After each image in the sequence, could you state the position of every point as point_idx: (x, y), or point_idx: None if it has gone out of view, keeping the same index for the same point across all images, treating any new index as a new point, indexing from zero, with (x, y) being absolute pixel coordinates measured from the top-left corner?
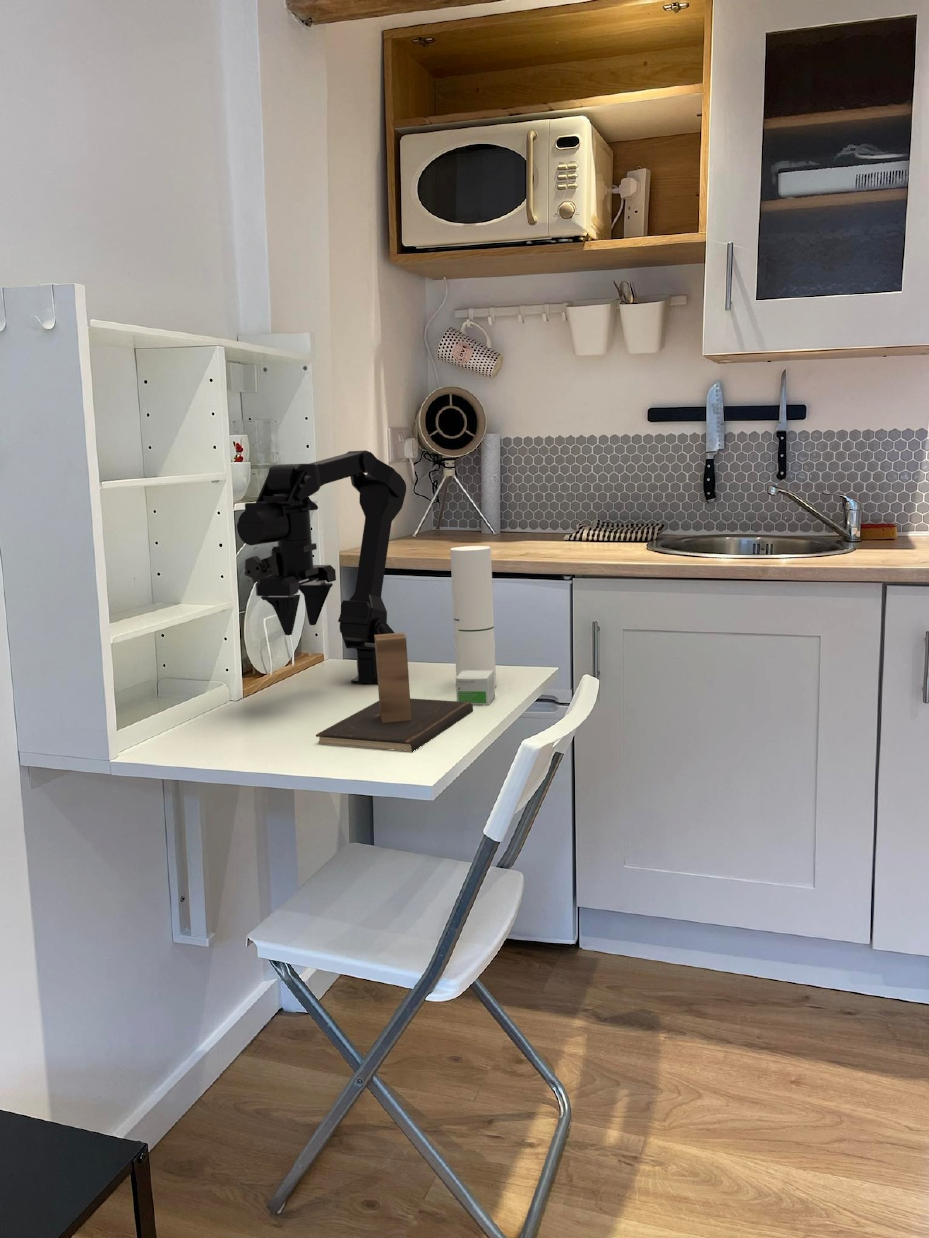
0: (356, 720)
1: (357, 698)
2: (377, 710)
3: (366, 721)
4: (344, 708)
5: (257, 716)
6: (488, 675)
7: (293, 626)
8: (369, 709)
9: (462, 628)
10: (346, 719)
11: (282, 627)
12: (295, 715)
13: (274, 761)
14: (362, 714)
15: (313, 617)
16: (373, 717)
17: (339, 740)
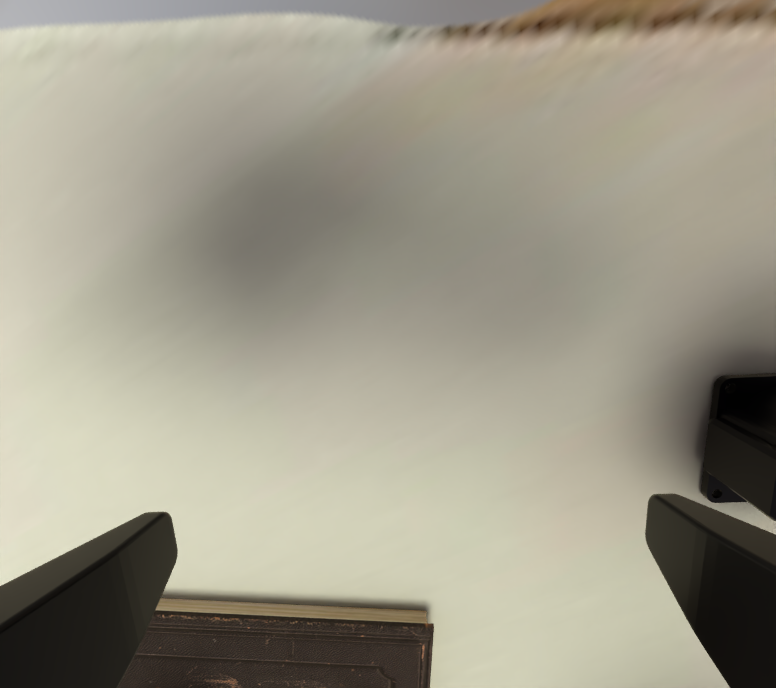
0: (161, 651)
1: (500, 490)
2: (274, 664)
3: (162, 678)
4: (371, 504)
5: (205, 267)
6: None
7: (128, 648)
8: (279, 640)
9: None
10: (159, 623)
11: (73, 554)
12: (254, 392)
13: None
14: (223, 642)
15: (694, 591)
16: (203, 680)
17: None
